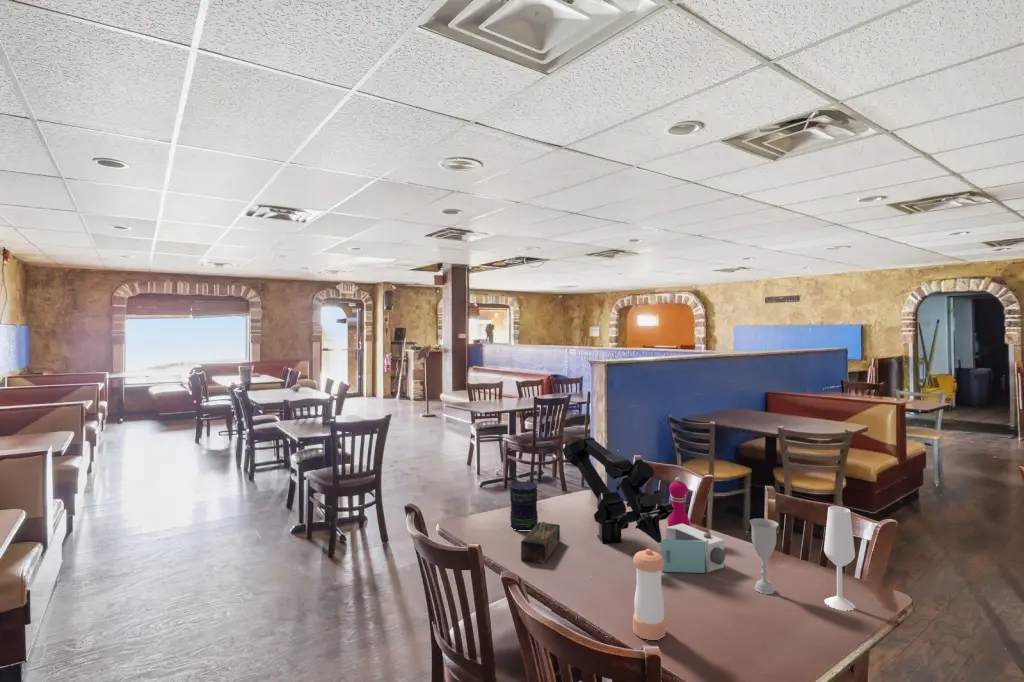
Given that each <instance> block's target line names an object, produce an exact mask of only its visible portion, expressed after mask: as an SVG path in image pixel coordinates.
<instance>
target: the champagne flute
mask: <svg viewBox="0 0 1024 682" xmlns="http://www.w3.org/2000/svg"><path fill="white" fill-rule="evenodd" d="M826 518H827V519H826V526H825V536H824V547H823V551H824V554H825V556H826V557H827V558H828V560H829V561H831V563H832V564H833V565H835V566H836V595H835V596H831V597H827V598H825V599H824V604H825V605H827V606H828V605H829V606H828V607H829V608H832V609H834V608H835V610H839V611H844V612H850V610H852V611H854V610H855V609H856V606H855V605H854V603H852V602H851V601H850V600H848V599H846V598H845V597H843V567H845V566H847V565H849V564H850V563H851V562H853V561H854V559H855V557H856V551H855V542H854V541H855V540H854V532H853V531H854V530H853V524H852V523H853V522H852V514H851V510H850V508H847V507H843V506H836V505H835V506H834V505H833V506H828V507H827V517H826ZM854 608H855V609H854ZM853 609H854V610H853ZM847 610H848V611H847Z"/></svg>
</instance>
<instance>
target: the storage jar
mask: <svg viewBox="0 0 1024 682" xmlns="http://www.w3.org/2000/svg"><path fill="white" fill-rule="evenodd" d="M537 488H538V483H535V482H531V481H516V482H512V483H511V484H510V485H509V497H510V498H509V501H510V516H509V519H510V528H511V527H512V528H513V529H516V530H532V529H533V528H534V527H535V526H536V525H537V524H538V520H539V518H538V517H539V516H538V511H537V502H538V489H537ZM513 529H512V530H513Z"/></svg>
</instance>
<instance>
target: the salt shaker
mask: <svg viewBox="0 0 1024 682" xmlns="http://www.w3.org/2000/svg"><path fill="white" fill-rule="evenodd" d="M632 561H633V565H634V567H635V568H636V586H635V592H634V598H633V599H634V600H633V603H634V605H633V606H634V613H633V616H632V626H633V627H632V628H633V629H632V631H633V634H634V633H635V634H636V635H638V636H640V637H642V638H647V639H659V638H661V637H663V636H664V635H665V633H666V634H667V631H666V630H667V629H666V626H667V621H666V617H665V601H664V594H663V589H662V571H661V570H662V569H663V567H664V564H665V563H664V559H663V557H662V556H661V553H659V552H657V551H655V550H654V551H653V550H651V549H650V548H646V549H645V550H644V549H643V550H640V551H638V552H635V554H634V555H633V559H632ZM635 634H634V635H635ZM636 635H635V636H636ZM638 636H637V637H638ZM665 636H666V635H665Z"/></svg>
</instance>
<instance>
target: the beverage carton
mask: <svg viewBox="0 0 1024 682" xmlns="http://www.w3.org/2000/svg"><path fill="white" fill-rule="evenodd" d="M560 529H561V528H560V524H556V523H548V522H546V521H541V522H537V525H536V526H535V527H534V528H533V529H532V530H531V531H529V532H528V533H527V534H526V536H525V537H524V538H523V539H521V543H520V561H523V562H530V563H535V564H540V565H541V564H542V565H544V564H545V563H546V561H547V560H548V559H549V557H550V556H551V554H552V553H553V551H554V550H555V548H557V546H556V545H558V544H559V542H560V538H561V531H560ZM558 541H559V542H558ZM557 543H558V544H557Z"/></svg>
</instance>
